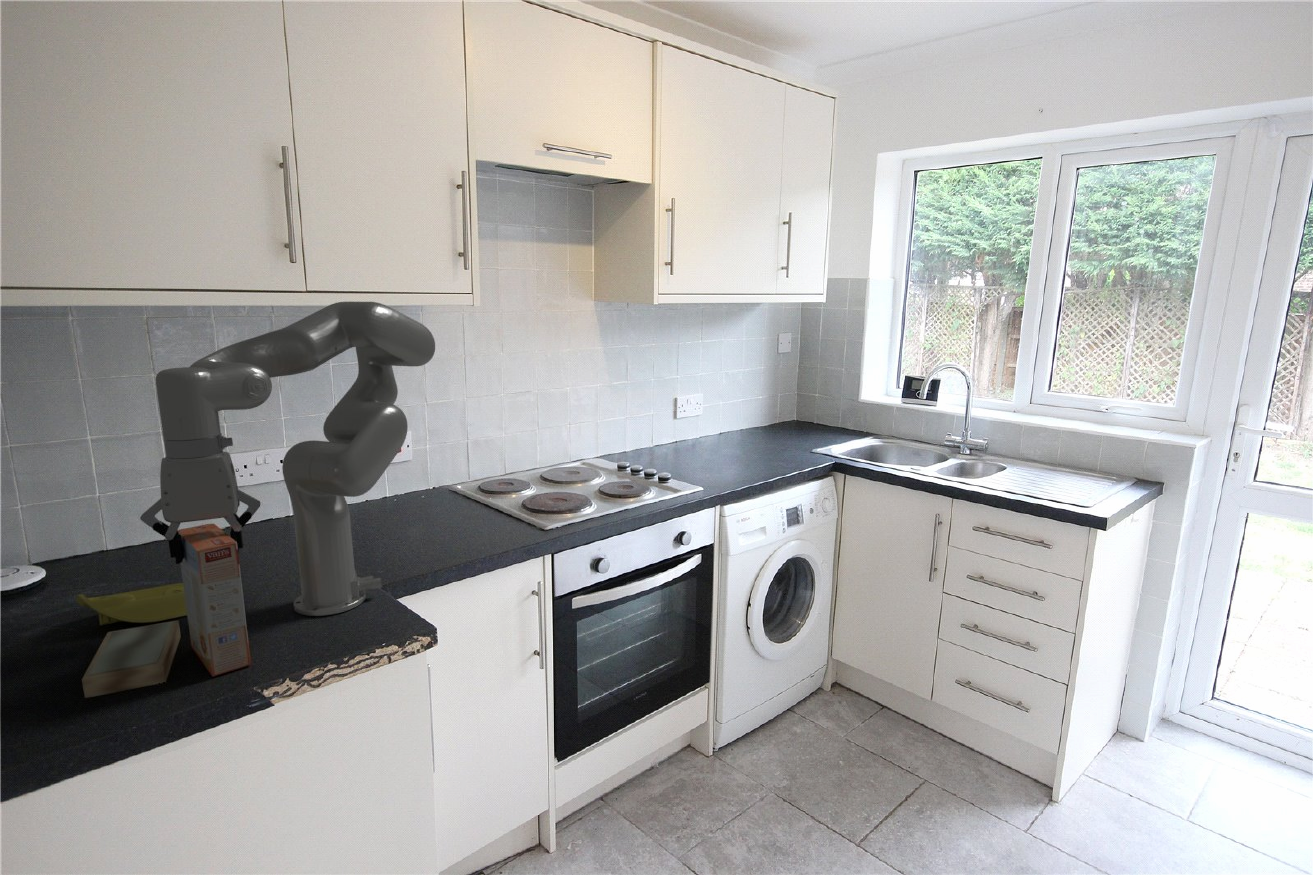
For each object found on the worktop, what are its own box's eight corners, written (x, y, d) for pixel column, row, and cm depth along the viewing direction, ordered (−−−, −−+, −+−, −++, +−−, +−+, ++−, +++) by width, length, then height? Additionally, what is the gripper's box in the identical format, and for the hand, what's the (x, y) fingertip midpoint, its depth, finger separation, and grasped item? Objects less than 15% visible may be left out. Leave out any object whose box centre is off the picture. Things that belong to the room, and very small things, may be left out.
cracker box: (254, 665, 116) (238, 540, 112) (211, 679, 112) (193, 550, 108) (230, 636, 126) (215, 520, 122) (190, 647, 122) (173, 528, 118)
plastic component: (199, 580, 146) (210, 570, 139) (204, 616, 144) (216, 609, 138) (73, 602, 132) (78, 593, 125) (77, 642, 131) (83, 636, 124)
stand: (180, 636, 127) (178, 619, 126) (165, 682, 112) (162, 663, 111) (110, 648, 122) (107, 631, 122) (85, 698, 107) (81, 678, 107)
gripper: (258, 438, 120) (270, 541, 123) (131, 448, 112) (147, 558, 116) (256, 447, 113) (269, 555, 117) (120, 458, 106) (138, 574, 109)
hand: (208, 556), depth 116 cm, fingers closed on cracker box, 7 cm apart
